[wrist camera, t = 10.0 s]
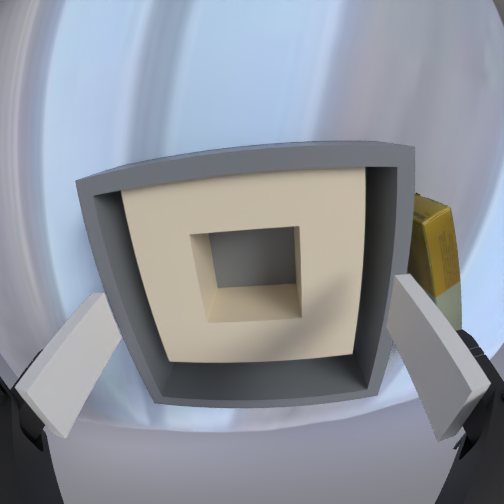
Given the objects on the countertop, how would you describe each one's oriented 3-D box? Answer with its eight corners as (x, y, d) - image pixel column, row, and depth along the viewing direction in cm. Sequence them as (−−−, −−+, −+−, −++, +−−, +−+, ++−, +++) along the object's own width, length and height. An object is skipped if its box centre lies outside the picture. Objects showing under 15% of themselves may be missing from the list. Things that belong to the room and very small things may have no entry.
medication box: (439, 313, 22) (463, 338, 18) (416, 327, 22) (438, 355, 18) (418, 191, 17) (453, 205, 14) (388, 206, 18) (420, 224, 14)
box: (121, 165, 18) (75, 180, 13) (375, 141, 16) (414, 146, 11) (171, 357, 24) (154, 403, 19) (361, 348, 23) (377, 395, 18)
